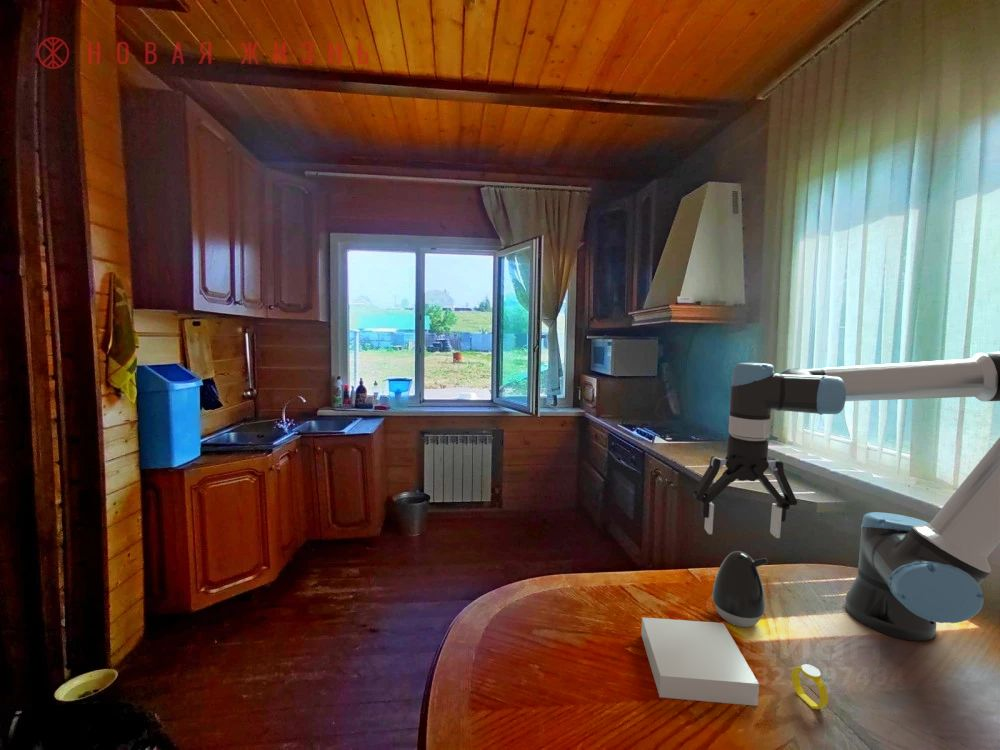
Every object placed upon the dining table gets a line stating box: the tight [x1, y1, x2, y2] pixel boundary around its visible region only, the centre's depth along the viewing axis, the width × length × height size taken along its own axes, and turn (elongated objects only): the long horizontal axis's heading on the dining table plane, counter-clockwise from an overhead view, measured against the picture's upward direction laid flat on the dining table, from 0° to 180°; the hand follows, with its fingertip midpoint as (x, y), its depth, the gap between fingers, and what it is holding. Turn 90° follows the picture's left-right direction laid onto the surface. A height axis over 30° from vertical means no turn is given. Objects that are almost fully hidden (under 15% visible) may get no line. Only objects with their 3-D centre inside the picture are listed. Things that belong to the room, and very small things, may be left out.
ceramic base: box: [640, 617, 760, 707], centre depth 86 cm, size 16×16×4 cm
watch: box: [790, 663, 829, 710], centre depth 78 cm, size 6×3×6 cm, turn 12°
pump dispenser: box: [711, 550, 769, 628], centre depth 99 cm, size 10×10×15 cm
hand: (741, 533), depth 98 cm, fingers open, 13 cm apart
